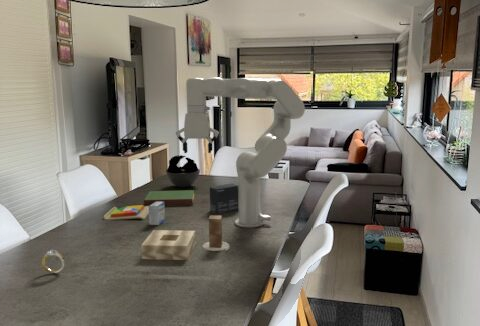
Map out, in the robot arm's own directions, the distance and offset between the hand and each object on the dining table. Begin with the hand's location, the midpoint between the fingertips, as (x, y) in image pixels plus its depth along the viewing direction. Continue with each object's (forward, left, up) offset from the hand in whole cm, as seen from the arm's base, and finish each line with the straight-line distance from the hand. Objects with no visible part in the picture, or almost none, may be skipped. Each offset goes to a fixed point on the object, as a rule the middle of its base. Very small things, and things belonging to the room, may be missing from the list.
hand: (197, 152), depth 179 cm
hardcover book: (+23, -49, -34) cm, 64 cm away
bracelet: (+41, +43, -34) cm, 68 cm away
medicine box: (+21, -12, -34) cm, 41 cm away
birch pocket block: (+7, +24, -33) cm, 42 cm away
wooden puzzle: (+38, -24, -34) cm, 57 cm away
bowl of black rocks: (+23, -81, -34) cm, 91 cm away
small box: (-7, -33, -34) cm, 48 cm away
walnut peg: (-9, +18, -32) cm, 38 cm away
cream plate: (-9, +18, -33) cm, 39 cm away
